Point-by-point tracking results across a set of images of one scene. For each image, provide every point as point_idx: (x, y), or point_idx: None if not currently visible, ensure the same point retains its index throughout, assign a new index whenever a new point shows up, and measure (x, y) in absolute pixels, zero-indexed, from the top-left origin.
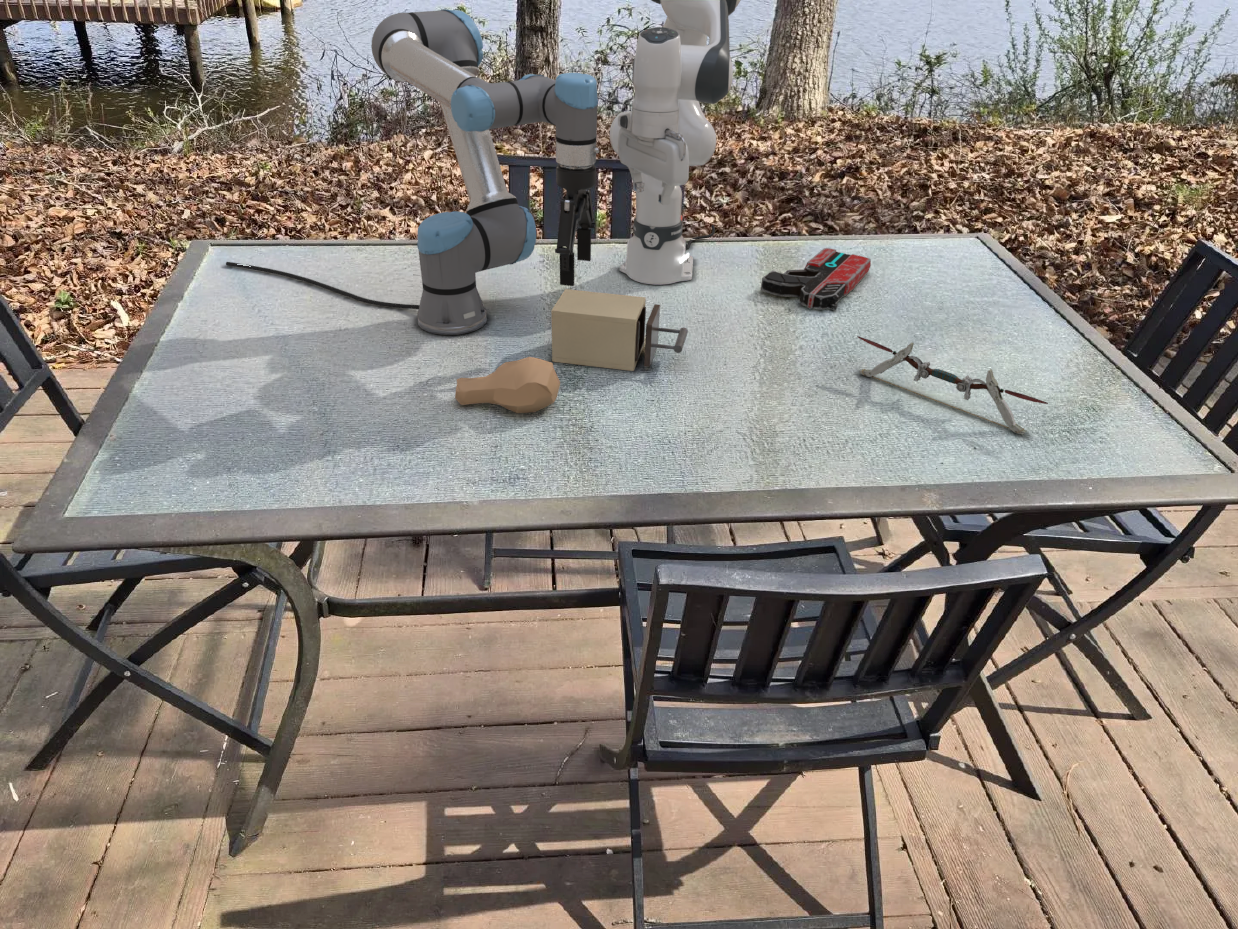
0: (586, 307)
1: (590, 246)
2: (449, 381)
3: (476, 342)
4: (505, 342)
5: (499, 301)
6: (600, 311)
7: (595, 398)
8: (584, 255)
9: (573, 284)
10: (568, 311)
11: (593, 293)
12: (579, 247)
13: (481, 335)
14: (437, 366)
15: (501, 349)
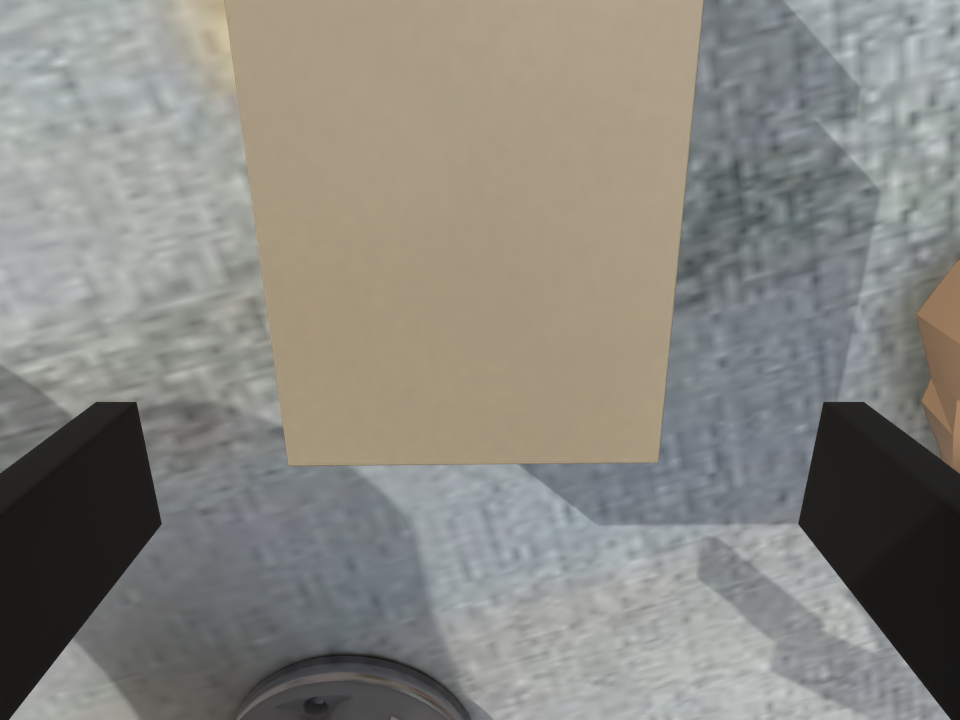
0: (560, 255)
1: (7, 490)
2: (811, 627)
3: (496, 636)
4: (468, 551)
5: (121, 664)
6: (613, 130)
7: (931, 54)
8: (117, 487)
9: (866, 408)
10: (656, 358)
11: (290, 266)
12: (77, 599)
13: (435, 638)
14: (706, 688)
15: (531, 547)
